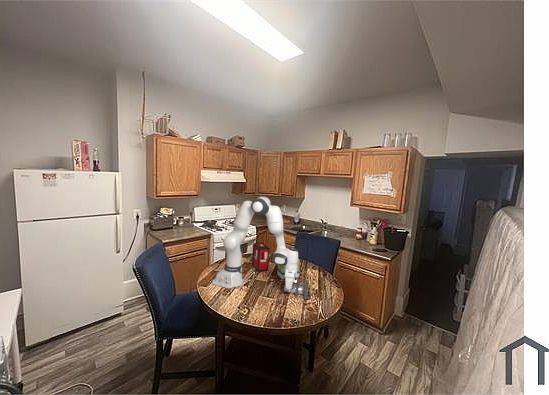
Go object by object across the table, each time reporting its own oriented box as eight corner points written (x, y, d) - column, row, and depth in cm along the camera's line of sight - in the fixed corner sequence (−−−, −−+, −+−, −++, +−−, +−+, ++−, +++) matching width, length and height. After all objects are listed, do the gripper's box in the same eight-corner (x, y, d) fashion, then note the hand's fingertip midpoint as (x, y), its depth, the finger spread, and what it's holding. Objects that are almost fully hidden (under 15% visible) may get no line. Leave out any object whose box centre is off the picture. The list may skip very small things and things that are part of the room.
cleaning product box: (268, 270, 190) (269, 248, 188) (258, 272, 186) (259, 249, 184) (261, 263, 205) (262, 242, 203) (251, 264, 201) (253, 243, 199)
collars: (295, 296, 152) (296, 284, 151) (296, 289, 162) (297, 277, 161) (310, 299, 150) (311, 286, 149) (311, 291, 160) (312, 279, 159)
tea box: (282, 279, 176) (283, 261, 174) (277, 274, 185) (278, 257, 183) (298, 277, 181) (300, 259, 180) (293, 272, 191) (294, 255, 189)
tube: (284, 293, 156) (284, 286, 155) (285, 289, 161) (285, 282, 160) (309, 297, 153) (310, 290, 152) (310, 293, 158) (310, 286, 157)
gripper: (288, 264, 167) (287, 281, 168) (284, 276, 147) (283, 295, 148) (296, 265, 166) (295, 282, 167) (294, 277, 146) (292, 297, 147)
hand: (289, 289), depth 158 cm, fingers closed on tube, 5 cm apart
